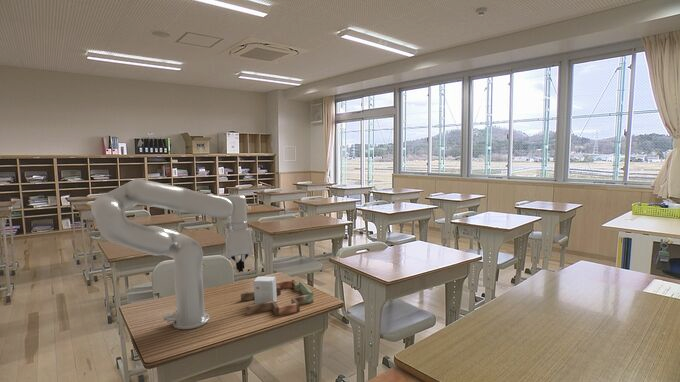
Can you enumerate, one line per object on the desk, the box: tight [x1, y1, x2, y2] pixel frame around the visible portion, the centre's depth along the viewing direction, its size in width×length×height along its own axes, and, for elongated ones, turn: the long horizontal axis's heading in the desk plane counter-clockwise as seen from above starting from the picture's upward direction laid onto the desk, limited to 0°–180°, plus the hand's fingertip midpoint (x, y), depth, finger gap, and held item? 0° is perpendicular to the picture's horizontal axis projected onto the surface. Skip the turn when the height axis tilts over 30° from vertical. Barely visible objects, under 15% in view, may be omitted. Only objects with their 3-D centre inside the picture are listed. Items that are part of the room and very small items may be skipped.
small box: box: [253, 276, 278, 304], centre depth 154 cm, size 8×6×10 cm
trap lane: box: [240, 279, 315, 316], centre depth 156 cm, size 27×28×4 cm
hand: (240, 270), depth 149 cm, fingers closed
